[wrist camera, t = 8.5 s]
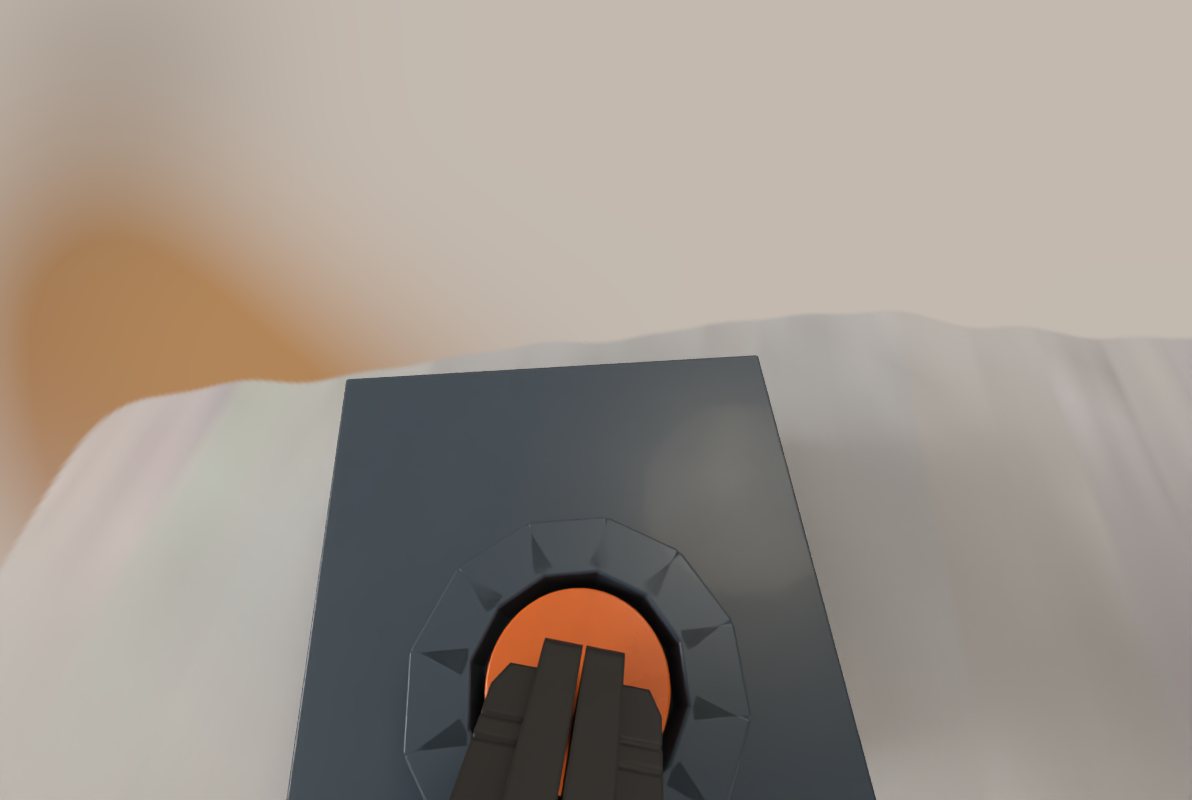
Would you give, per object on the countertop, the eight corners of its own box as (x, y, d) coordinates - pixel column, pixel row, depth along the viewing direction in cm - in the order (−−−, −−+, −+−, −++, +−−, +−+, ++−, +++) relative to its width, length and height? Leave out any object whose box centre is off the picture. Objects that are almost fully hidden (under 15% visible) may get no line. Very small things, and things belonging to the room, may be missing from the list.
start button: (648, 593, 13) (657, 580, 12) (670, 774, 12) (685, 786, 10) (495, 606, 13) (484, 594, 11) (496, 793, 11) (483, 809, 10)
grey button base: (713, 439, 22) (778, 317, 15) (785, 791, 17) (939, 861, 10) (405, 460, 21) (319, 342, 14) (375, 838, 16) (212, 953, 9)
